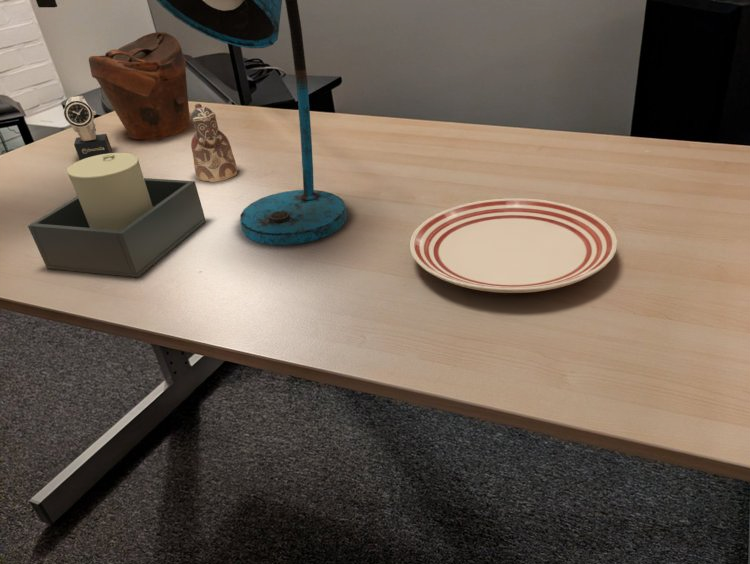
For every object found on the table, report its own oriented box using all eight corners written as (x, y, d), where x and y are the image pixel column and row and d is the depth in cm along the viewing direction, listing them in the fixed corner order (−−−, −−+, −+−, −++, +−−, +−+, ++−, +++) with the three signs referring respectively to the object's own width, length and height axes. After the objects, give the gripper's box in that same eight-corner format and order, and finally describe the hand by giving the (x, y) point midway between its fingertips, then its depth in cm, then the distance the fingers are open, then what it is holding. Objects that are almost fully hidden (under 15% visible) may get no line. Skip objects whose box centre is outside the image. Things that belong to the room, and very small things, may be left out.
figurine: (198, 184, 114) (179, 115, 107) (195, 171, 119) (177, 104, 112) (239, 177, 116) (223, 109, 109) (235, 164, 121) (219, 98, 114)
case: (103, 150, 130) (70, 55, 120) (123, 120, 146) (95, 34, 136) (196, 141, 133) (171, 47, 122) (205, 113, 149) (184, 27, 138)
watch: (79, 163, 125) (56, 105, 118) (82, 150, 131) (61, 94, 124) (110, 159, 126) (90, 101, 120) (112, 146, 132) (93, 90, 126)
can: (167, 223, 100) (143, 146, 93) (156, 250, 93) (129, 169, 86) (105, 229, 99) (76, 152, 92) (88, 258, 92) (55, 176, 85)
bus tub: (46, 268, 91) (27, 225, 87) (124, 214, 105) (110, 175, 101) (138, 277, 88) (122, 233, 84) (206, 221, 102) (194, 180, 98)
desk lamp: (196, 250, 94) (82, -136, 67) (285, 192, 110) (220, -138, 83) (290, 269, 88) (205, -143, 62) (368, 204, 104) (327, -144, 78)
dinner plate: (385, 236, 95) (383, 215, 93) (550, 201, 103) (552, 181, 101) (456, 335, 74) (456, 310, 72) (657, 282, 82) (661, 259, 80)
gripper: (-133, -185, 68) (-37, 34, 81) (39, -175, 88) (94, 0, 100) (-188, -181, 70) (-86, 33, 82) (-7, -172, 90) (53, 0, 102)
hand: (13, 15), depth 91 cm, fingers open, 13 cm apart
